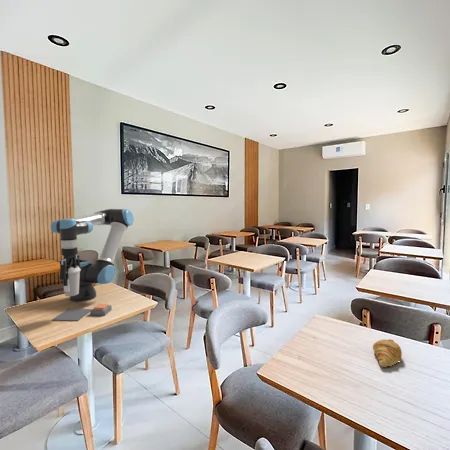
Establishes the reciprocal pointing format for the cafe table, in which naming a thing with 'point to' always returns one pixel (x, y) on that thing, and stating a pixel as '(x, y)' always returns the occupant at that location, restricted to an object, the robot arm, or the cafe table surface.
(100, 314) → the button housing
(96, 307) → the button
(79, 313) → the mat
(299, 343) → the cafe table surface
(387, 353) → the croissant
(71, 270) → the coffee cup
